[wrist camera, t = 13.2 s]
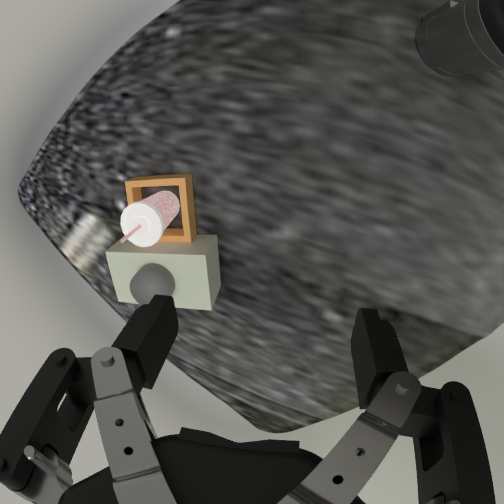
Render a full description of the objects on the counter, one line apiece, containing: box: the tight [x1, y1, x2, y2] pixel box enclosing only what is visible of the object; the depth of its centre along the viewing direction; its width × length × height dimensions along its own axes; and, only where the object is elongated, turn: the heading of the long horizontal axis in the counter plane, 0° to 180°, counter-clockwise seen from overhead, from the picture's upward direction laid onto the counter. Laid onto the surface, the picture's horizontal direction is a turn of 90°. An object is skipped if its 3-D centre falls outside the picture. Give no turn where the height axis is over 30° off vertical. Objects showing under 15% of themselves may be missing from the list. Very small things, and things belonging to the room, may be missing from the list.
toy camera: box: [106, 174, 221, 310], centre depth 41 cm, size 19×16×10 cm
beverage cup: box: [120, 191, 180, 247], centre depth 38 cm, size 6×6×14 cm
